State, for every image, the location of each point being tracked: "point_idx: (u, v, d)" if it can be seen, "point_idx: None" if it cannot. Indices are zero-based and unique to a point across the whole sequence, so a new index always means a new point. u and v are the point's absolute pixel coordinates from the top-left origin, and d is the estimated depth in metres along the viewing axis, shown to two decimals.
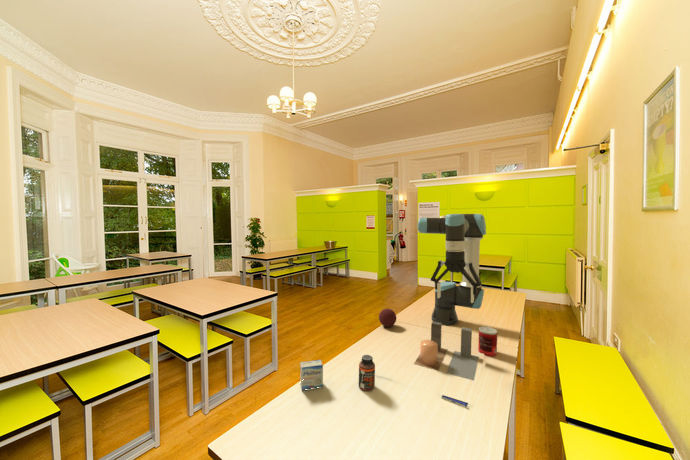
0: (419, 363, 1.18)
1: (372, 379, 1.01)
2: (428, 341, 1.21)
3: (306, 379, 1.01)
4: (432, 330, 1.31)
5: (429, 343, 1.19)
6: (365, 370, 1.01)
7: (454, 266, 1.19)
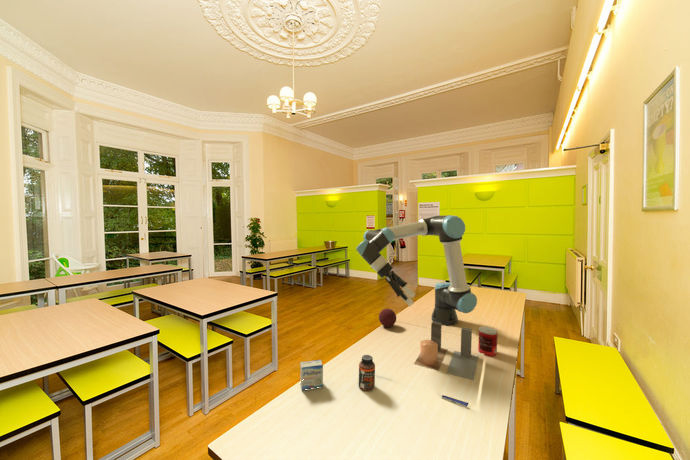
0: (419, 363, 1.18)
1: (372, 379, 1.01)
2: (428, 341, 1.21)
3: (306, 379, 1.01)
4: (432, 330, 1.31)
5: (429, 343, 1.19)
6: (365, 370, 1.01)
7: None
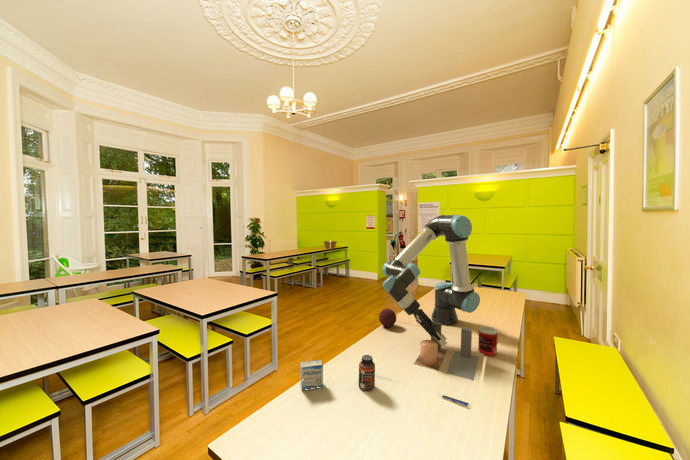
0: (419, 363, 1.18)
1: (372, 379, 1.01)
2: (428, 341, 1.21)
3: (306, 379, 1.01)
4: None
5: (429, 343, 1.19)
6: (365, 370, 1.01)
7: None
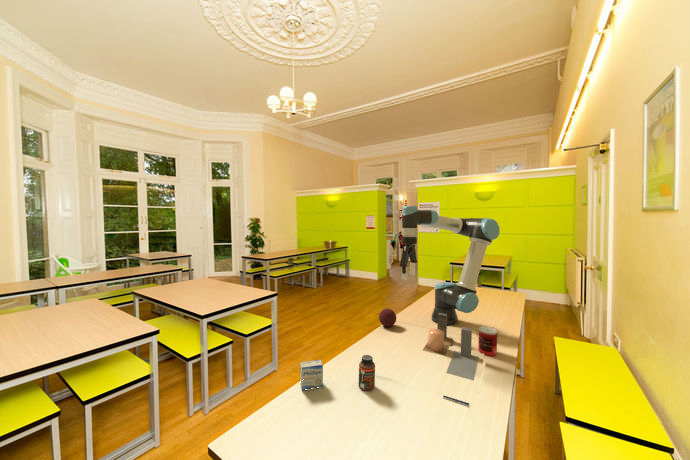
0: (427, 349, 1.30)
1: (372, 379, 1.01)
2: (435, 330, 1.33)
3: (306, 379, 1.01)
4: (438, 320, 1.43)
5: (436, 332, 1.31)
6: (365, 370, 1.01)
7: None
